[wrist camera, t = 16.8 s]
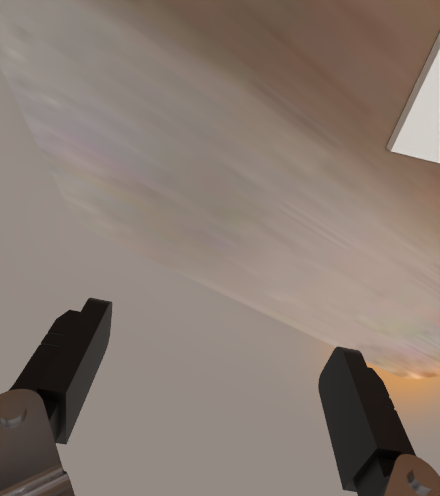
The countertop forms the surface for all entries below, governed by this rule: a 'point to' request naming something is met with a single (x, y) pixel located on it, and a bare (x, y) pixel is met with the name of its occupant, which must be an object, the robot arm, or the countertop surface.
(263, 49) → the countertop surface
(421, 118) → the plate
